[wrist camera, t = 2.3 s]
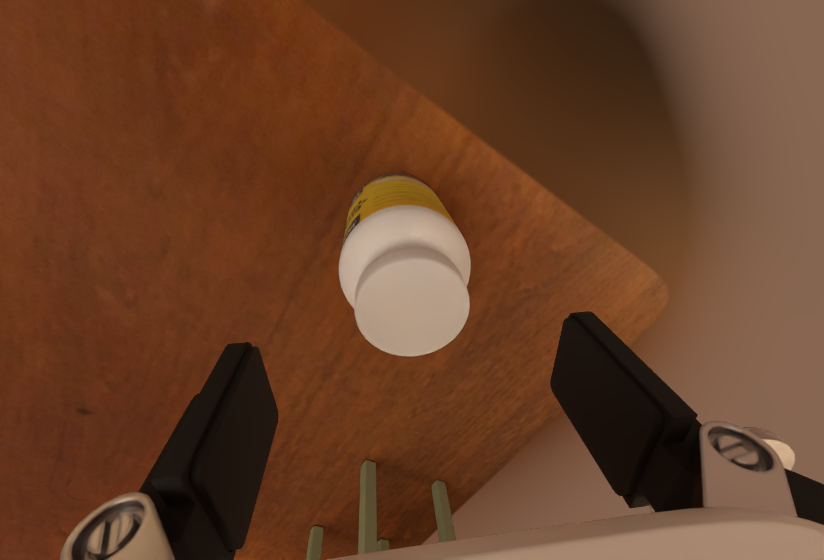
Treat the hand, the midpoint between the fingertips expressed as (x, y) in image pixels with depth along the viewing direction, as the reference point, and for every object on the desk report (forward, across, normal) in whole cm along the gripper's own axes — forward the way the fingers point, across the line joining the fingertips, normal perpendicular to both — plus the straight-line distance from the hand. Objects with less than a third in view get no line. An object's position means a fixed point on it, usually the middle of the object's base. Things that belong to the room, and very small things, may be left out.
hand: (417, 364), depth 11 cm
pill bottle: (+15, 0, 0) cm, 15 cm away
